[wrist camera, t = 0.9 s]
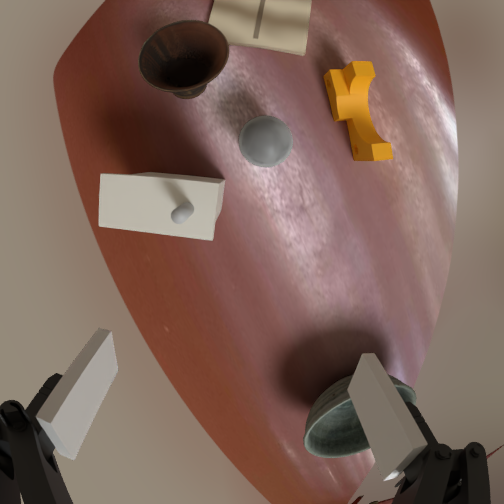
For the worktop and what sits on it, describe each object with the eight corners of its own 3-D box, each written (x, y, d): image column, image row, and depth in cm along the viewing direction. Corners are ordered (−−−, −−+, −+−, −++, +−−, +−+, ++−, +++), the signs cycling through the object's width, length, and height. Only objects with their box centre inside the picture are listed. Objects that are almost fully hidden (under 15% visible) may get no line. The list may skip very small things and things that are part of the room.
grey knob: (243, 120, 32) (242, 112, 26) (288, 127, 32) (296, 120, 27) (237, 163, 34) (235, 163, 28) (281, 169, 34) (288, 171, 28)
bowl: (300, 355, 43) (311, 399, 33) (409, 341, 43) (434, 374, 34) (291, 428, 49) (297, 465, 40) (382, 413, 50) (396, 445, 40)
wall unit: (147, 168, 33) (83, 176, 18) (228, 176, 34) (215, 186, 19) (144, 204, 35) (82, 234, 20) (223, 213, 36) (207, 251, 21)
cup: (247, 74, 30) (247, 43, 21) (199, 123, 32) (181, 109, 22) (197, 39, 28) (182, 3, 19) (151, 86, 30) (121, 64, 21)
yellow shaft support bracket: (322, 76, 30) (337, 61, 24) (352, 75, 30) (371, 61, 24) (341, 162, 34) (360, 162, 28) (370, 158, 34) (393, 158, 28)
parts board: (219, -14, 25) (219, -17, 24) (310, -2, 26) (312, -5, 25) (205, 43, 28) (203, 40, 27) (303, 55, 29) (305, 53, 28)
